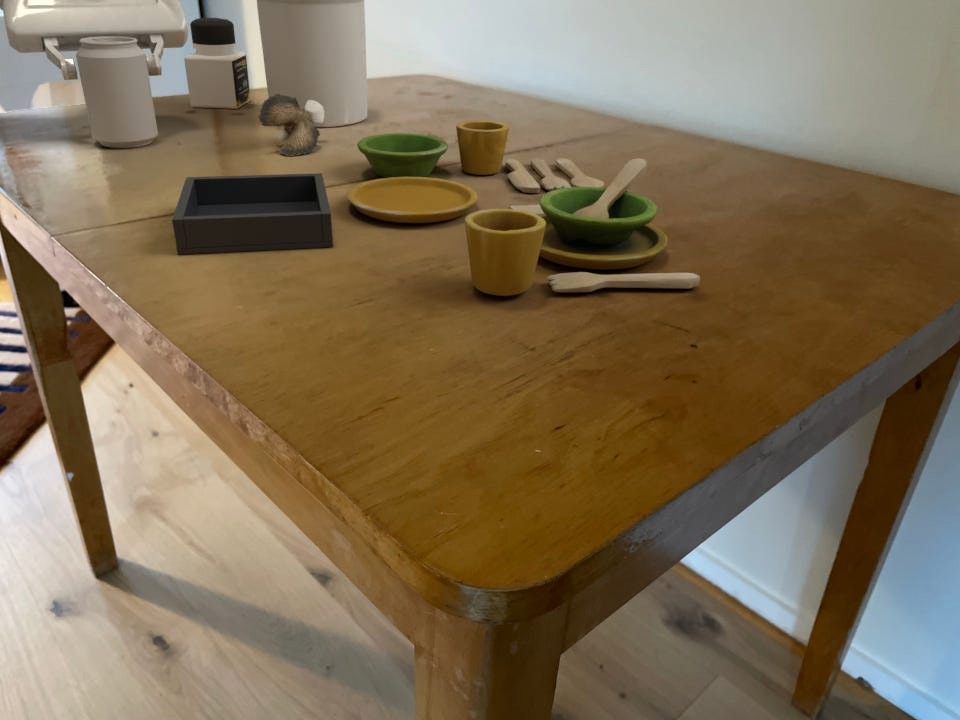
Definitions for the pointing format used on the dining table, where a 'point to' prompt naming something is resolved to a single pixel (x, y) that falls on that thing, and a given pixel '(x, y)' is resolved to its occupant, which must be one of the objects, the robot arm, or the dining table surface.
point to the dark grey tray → (252, 213)
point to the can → (117, 91)
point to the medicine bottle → (216, 66)
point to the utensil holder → (317, 55)
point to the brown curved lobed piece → (293, 122)
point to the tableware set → (519, 213)
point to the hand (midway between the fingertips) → (114, 74)
